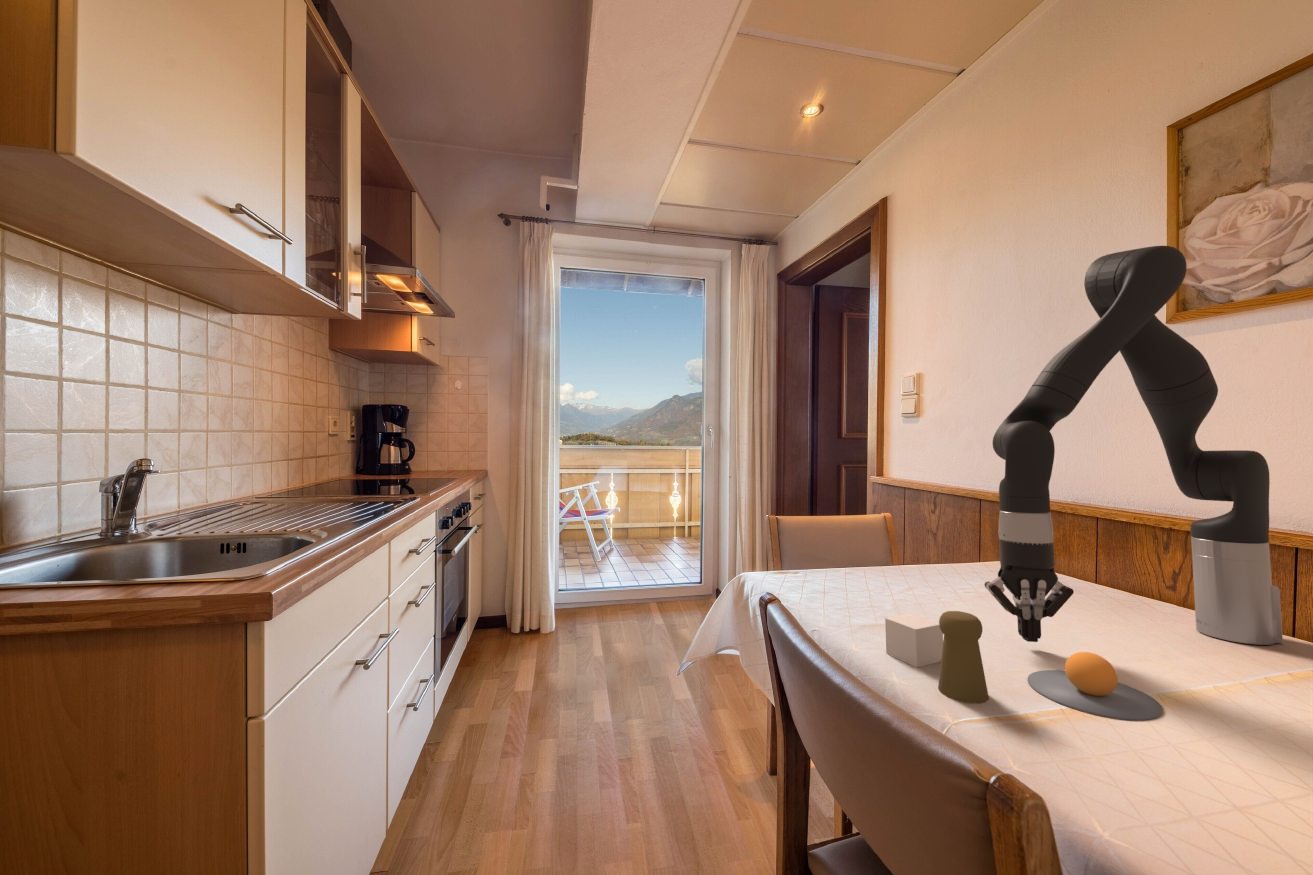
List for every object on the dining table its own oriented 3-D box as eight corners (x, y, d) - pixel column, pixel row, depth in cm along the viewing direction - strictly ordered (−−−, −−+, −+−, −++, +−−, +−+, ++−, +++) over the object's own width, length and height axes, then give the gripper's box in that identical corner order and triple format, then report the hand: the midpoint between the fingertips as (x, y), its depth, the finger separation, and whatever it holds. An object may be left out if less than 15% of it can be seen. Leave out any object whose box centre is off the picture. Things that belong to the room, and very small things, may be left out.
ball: (1099, 679, 71) (1096, 643, 70) (1130, 703, 65) (1127, 664, 65) (1057, 681, 72) (1054, 645, 71) (1084, 705, 66) (1081, 666, 66)
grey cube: (886, 654, 83) (884, 617, 83) (912, 648, 85) (910, 613, 86) (917, 667, 77) (915, 629, 78) (944, 661, 80) (942, 623, 80)
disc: (1115, 675, 74) (1115, 674, 74) (1194, 725, 60) (1194, 723, 60) (1009, 667, 77) (1009, 666, 77) (1061, 714, 63) (1061, 712, 63)
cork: (997, 705, 65) (993, 621, 66) (947, 701, 67) (944, 619, 67) (977, 684, 71) (974, 607, 72) (931, 681, 73) (929, 605, 73)
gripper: (992, 540, 82) (996, 645, 82) (1084, 542, 80) (1089, 651, 79) (973, 533, 90) (977, 630, 89) (1057, 535, 87) (1061, 634, 86)
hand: (1030, 639), depth 84 cm, fingers closed
